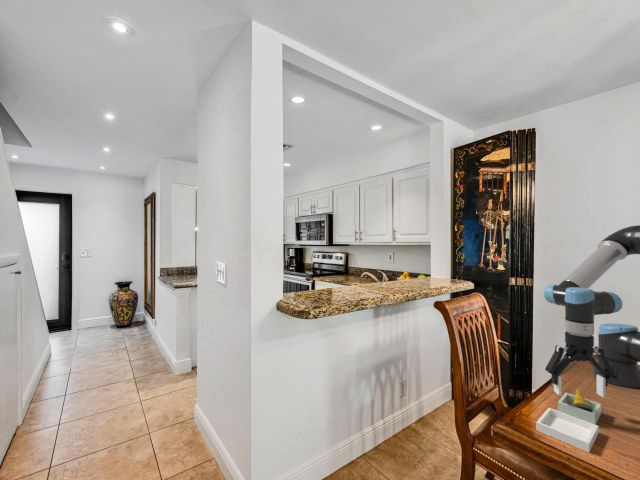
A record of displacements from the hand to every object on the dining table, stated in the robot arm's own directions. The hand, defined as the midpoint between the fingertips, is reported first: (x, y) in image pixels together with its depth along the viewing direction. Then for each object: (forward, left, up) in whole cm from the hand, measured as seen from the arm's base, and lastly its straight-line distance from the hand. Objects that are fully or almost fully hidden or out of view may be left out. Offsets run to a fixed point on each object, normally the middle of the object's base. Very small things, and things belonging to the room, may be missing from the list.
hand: (579, 394), depth 103 cm
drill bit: (0, 0, -7) cm, 7 cm away
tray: (+11, +11, -6) cm, 17 cm away
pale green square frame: (0, 0, -6) cm, 6 cm away
